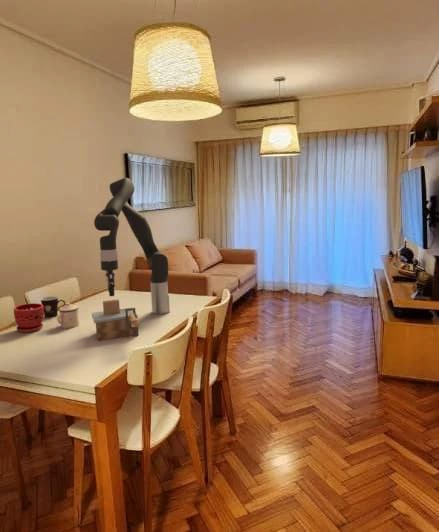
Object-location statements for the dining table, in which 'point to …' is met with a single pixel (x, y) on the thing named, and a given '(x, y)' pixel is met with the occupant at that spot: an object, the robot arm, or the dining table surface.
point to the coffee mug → (50, 306)
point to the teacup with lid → (68, 316)
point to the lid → (110, 312)
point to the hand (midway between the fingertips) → (111, 293)
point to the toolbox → (116, 328)
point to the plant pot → (29, 317)
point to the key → (133, 320)
